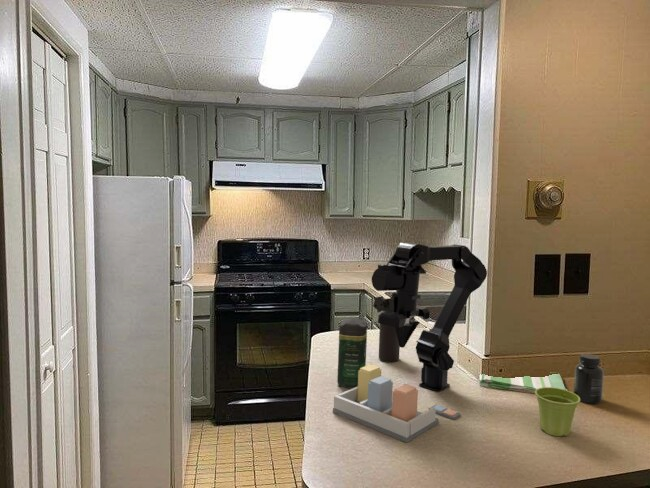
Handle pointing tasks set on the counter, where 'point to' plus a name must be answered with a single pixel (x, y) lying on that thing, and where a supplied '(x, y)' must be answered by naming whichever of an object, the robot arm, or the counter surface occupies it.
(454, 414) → the tile
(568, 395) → the plant pot
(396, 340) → the vinegar
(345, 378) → the coffee jar
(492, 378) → the dish towel
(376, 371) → the yellow block
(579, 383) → the supplement bottle
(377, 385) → the pale blue block
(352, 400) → the grey divided tray
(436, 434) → the counter surface
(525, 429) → the counter surface
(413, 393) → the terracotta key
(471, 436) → the counter surface
